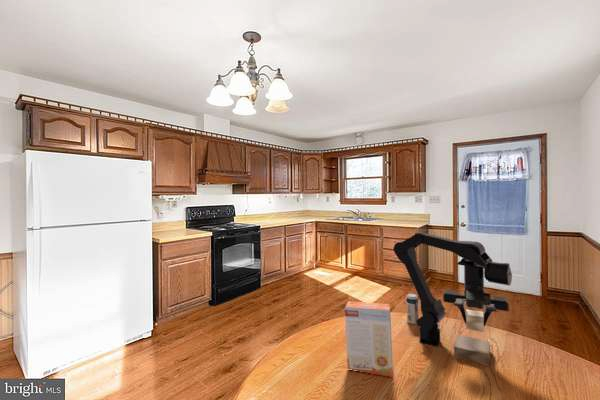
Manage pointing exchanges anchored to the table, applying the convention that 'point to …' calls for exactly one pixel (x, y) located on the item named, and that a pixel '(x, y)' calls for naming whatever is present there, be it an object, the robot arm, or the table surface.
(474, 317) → the maple cube
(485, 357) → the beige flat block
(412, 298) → the white capped bottle
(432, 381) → the table surface
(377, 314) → the cracker box
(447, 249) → the robot arm
